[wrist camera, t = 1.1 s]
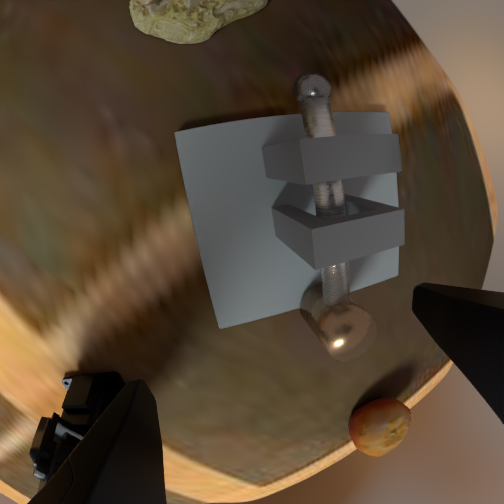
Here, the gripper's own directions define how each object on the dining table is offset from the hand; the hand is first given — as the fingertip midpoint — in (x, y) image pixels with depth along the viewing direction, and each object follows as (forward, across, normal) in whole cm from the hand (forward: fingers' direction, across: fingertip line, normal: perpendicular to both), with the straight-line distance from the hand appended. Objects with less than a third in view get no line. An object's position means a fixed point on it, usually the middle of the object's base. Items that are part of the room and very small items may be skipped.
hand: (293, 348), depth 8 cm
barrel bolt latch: (+13, -6, 0) cm, 14 cm away
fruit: (+13, -11, +27) cm, 32 cm away
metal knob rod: (+11, -6, -1) cm, 13 cm away
